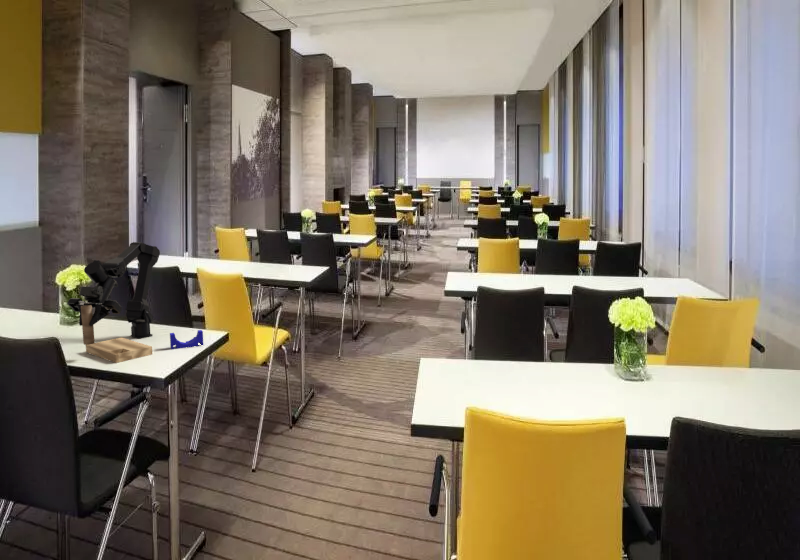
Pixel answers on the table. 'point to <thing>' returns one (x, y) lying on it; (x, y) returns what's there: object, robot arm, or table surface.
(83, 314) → the stool leg
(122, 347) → the stool seat
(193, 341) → the blue cradle bracket
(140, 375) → the table surface
